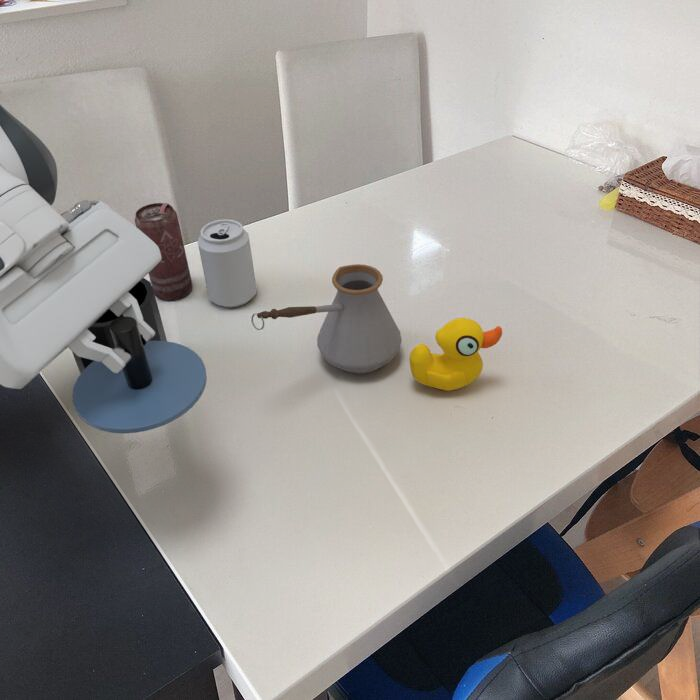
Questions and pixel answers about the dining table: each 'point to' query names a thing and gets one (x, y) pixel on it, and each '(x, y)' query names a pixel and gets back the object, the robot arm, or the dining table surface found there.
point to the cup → (101, 326)
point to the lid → (139, 384)
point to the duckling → (453, 355)
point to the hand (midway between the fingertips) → (136, 353)
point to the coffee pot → (352, 322)
